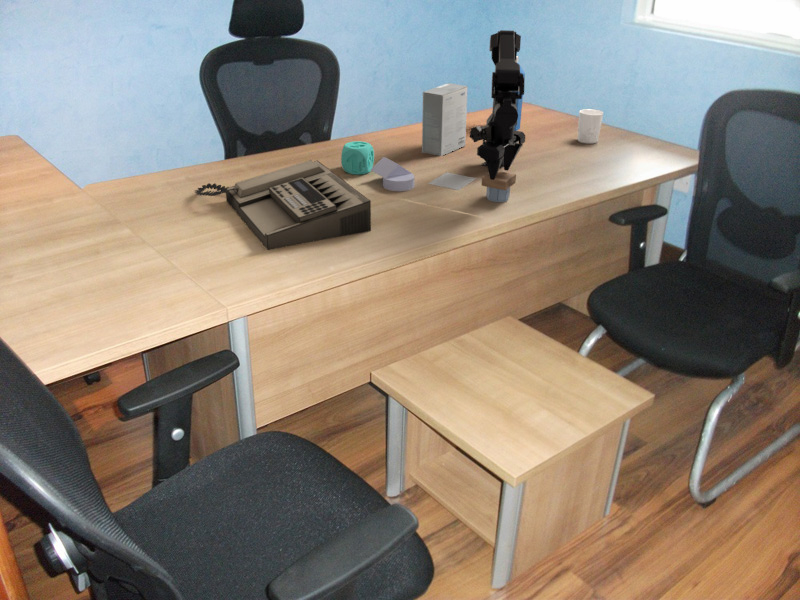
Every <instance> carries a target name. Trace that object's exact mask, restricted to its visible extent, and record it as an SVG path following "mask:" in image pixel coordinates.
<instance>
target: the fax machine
mask: <svg viewBox="0 0 800 600" xmlns="http://www.w3.org/2000/svg"><path fill="white" fill-rule="evenodd" d="M206 189H208V190H207V191H205V190H206ZM209 189H210V190H209ZM212 190H213V191H212ZM214 190H216V191H214ZM194 193H195V195H199V196H205V197H206V196H208V197H209V196H210V197H215V196H219V195H221V194H225V197H226V202H227V203H228V205H229V206H230V207H231V208H232V209H233V210H234V212H235V213H236V214H237V216H239V218H240V217H241V218H240V219H241V220H242V221H243V222H244V223H246V224H245V225H246V226H247V227H248V228H249V230H250V229H251V230H250V231H251V232H252V233H253V234H254V236H255V237H256V236H257V237H256V238H257V239H258V240H259V242H260V243H261V242H262V243H263V244H262V243H261V244H262V245H263V247H265V248H266V250H268V251H269V250H274V249H275V248H276V249H281V248H286V246H287V247H291V246H295V245H302V243H303V244H308V243H314V242H318V241H323V240H330V239H334V238H340V237H345V236H351V235H356V234H362V233H366V232H371V231H372V221H371V220H372V219H371V218H372V215H371V214H372V209H371V206H372V205H371V204H372V203H371V202H372V201H371V200H370V199H369V198H368V197H366V196H365V195H363V194H362V193H361V192H360V191H358V190H357V189H355V188H354V187H353V186H351V185H350V184H349V183H348V182H346V181H345V180H344V179H343V178H341V177H340V176H339V175H337V174H336V173H335V172H334V171H332V170H331V169H329V168H328V167H327V166H325V165H324V164H323V163H322V162H320V161H319V160H318V159H317V160H314V161H313V160H311V159H310V160H307V161H303V162H299V163H296V164H293V165H289V166H287V167H284V168H280V169H277V170H274V171H271V172H267V173H264V174H261V175H257V176H253V177H251V178H247V179H244V180H241V181H237V182H235V184H234V185H232V186H225V185H223V186H222V184H217V183H216V182H215V183H213V184H211V183H207V184H204V185H202V186H201V187H197V189H195V190H194ZM313 241H314V242H313ZM276 249H275V250H276Z"/></svg>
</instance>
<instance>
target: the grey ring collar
mask: <svg viewBox="0 0 800 600" xmlns="http://www.w3.org/2000/svg"><path fill="white" fill-rule="evenodd" d="M510 191H511V187H509V188H508V189H507V190H501V189H496V188H491V187H486V192H485V193H486V194H485V195H486V199H487V200H488V201H490V202H493V203H494V202H495V203H505V202H506V203H507V201H509V198H510V193H511V192H510Z"/></svg>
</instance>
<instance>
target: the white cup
mask: <svg viewBox="0 0 800 600" xmlns="http://www.w3.org/2000/svg"><path fill="white" fill-rule="evenodd" d="M603 118H604V111H602V110H598V109H594V108H592V109H591V108H585V109H580V110H579V114H578V123H577V125H578V126H577V141H578V142H579V143H582V144H588V145H589V144H596V143H598V141H599V137H600V132H601V128H602V123H603Z"/></svg>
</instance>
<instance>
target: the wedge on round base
mask: <svg viewBox="0 0 800 600" xmlns="http://www.w3.org/2000/svg"><path fill="white" fill-rule="evenodd" d="M371 172H373V173H374V174H377V175H378V176H380V177H382V187H383V188H384V189H385V190H387V191H393V192H406V191H410V190H413V189H414V188H415V175H414V173H412V172H411V171H409V170H408V169H406V168H405V167H403V166H402V165H400V164H399V163H397V162H395V161H393V160H392V159H389V158H387V157H386V156H383V157H382V158H381V159H380V160H379V161H377V163H376V164H374V165H373V167H372V169H371Z"/></svg>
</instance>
